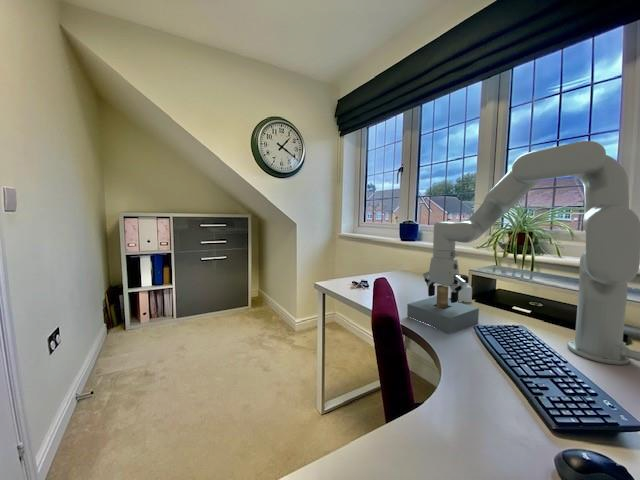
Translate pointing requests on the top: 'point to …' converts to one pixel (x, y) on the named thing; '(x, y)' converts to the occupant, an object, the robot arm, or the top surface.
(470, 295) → the medicine bottle
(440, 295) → the oak pin
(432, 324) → the hole block
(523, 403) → the top surface
